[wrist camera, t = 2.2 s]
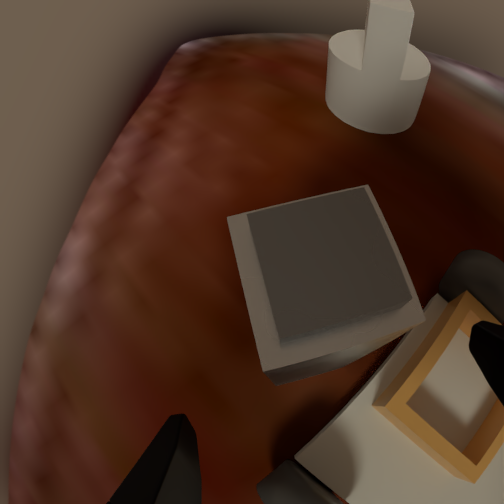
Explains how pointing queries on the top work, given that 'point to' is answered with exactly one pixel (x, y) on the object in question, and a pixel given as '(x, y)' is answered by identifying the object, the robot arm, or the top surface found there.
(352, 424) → the chassis
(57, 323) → the top surface
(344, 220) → the grey box
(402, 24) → the base with upright slab
